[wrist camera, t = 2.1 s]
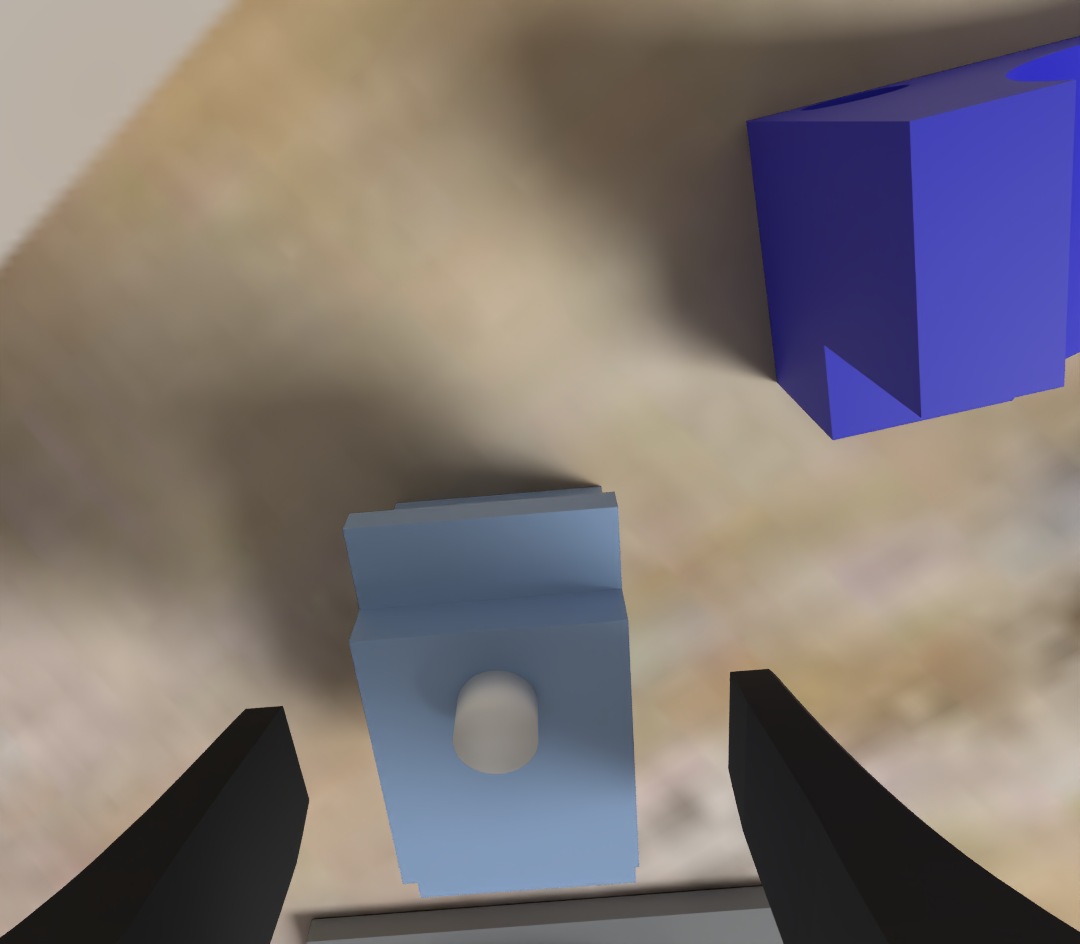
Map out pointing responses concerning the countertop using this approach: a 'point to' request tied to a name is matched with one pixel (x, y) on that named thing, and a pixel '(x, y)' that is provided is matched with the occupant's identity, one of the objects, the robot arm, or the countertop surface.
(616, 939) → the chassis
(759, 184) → the blue saddle bracket
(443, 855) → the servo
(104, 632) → the countertop surface
